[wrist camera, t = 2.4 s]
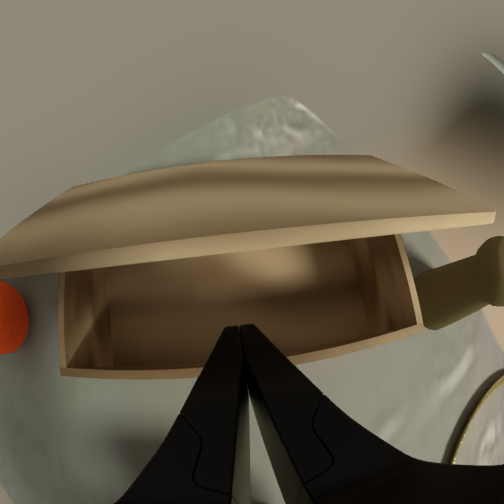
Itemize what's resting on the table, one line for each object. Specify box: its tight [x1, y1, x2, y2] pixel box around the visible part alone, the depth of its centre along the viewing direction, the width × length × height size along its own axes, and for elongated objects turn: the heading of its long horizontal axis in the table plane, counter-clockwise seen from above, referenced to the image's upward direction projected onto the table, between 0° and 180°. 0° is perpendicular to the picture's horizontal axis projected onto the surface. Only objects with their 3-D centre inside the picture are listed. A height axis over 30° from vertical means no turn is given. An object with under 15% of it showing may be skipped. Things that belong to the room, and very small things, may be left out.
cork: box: [414, 236, 504, 330], centre depth 17 cm, size 6×6×11 cm
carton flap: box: [0, 155, 496, 280], centre depth 11 cm, size 11×21×1 cm
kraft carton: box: [58, 234, 424, 379], centre depth 18 cm, size 12×22×8 cm, turn 98°
